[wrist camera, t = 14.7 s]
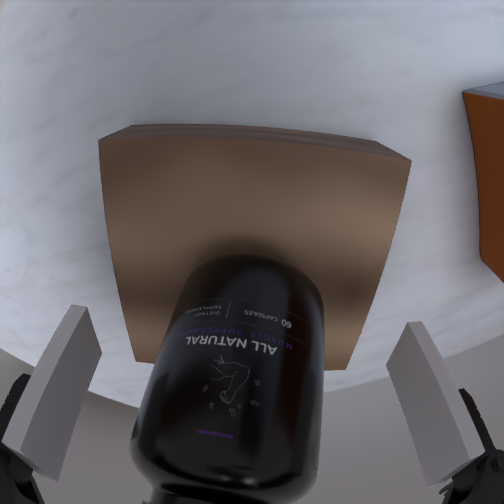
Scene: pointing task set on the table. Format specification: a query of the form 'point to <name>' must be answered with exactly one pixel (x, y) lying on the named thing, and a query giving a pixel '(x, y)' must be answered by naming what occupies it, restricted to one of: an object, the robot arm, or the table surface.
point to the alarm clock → (489, 168)
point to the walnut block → (248, 217)
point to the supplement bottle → (235, 388)
